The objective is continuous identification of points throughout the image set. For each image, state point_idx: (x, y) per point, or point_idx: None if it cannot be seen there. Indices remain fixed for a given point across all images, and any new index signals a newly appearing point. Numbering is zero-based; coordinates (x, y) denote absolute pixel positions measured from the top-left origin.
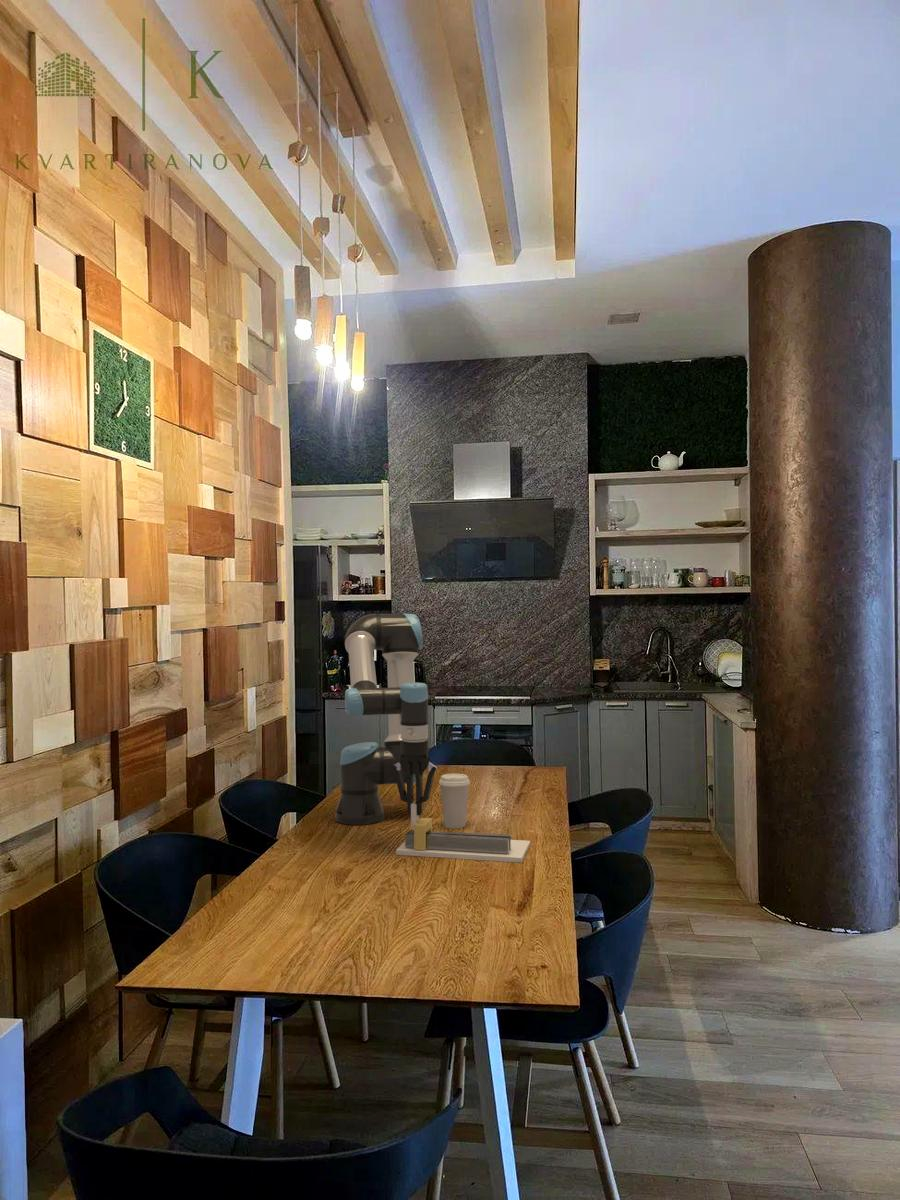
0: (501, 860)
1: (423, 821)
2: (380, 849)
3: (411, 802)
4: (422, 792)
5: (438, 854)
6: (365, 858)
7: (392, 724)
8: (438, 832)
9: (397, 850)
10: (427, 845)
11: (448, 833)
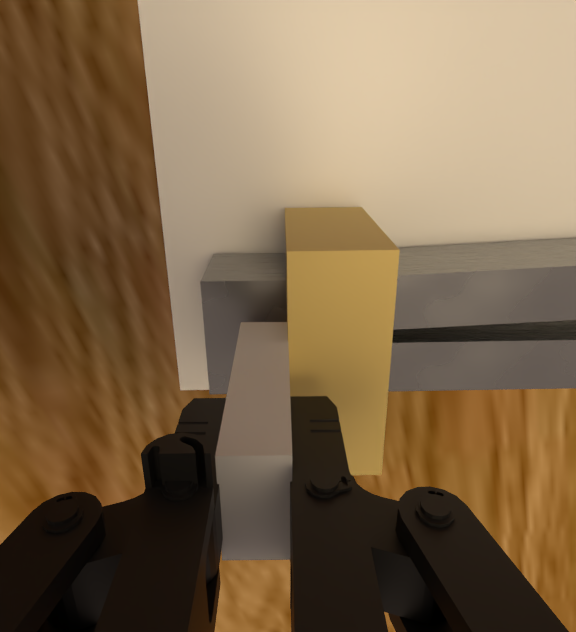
0: None
1: (339, 366)
2: (53, 303)
3: (219, 549)
4: (378, 598)
5: None
6: (58, 457)
7: None
8: (445, 301)
9: (189, 388)
10: None
11: (526, 312)
